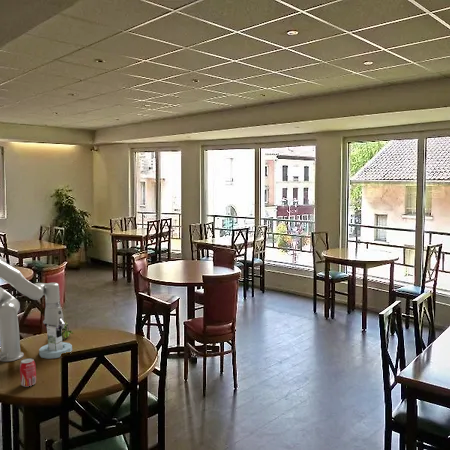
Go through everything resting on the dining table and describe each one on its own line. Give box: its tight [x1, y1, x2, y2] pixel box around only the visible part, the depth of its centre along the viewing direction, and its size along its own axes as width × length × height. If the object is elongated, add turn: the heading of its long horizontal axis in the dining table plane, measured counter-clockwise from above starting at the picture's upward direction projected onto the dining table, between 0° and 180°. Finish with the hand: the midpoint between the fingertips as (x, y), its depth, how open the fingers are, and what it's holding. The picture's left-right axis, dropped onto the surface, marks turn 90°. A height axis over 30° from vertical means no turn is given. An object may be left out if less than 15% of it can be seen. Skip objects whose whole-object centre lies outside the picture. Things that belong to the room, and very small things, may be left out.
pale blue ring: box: [38, 341, 73, 360], centre depth 270 cm, size 17×17×3 cm
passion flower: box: [62, 321, 74, 341], centre depth 296 cm, size 11×11×12 cm
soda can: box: [19, 357, 37, 388], centre depth 229 cm, size 7×7×12 cm
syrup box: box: [46, 325, 63, 351], centre depth 270 cm, size 6×6×14 cm
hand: (54, 335), depth 270 cm, fingers closed on syrup box, 6 cm apart
